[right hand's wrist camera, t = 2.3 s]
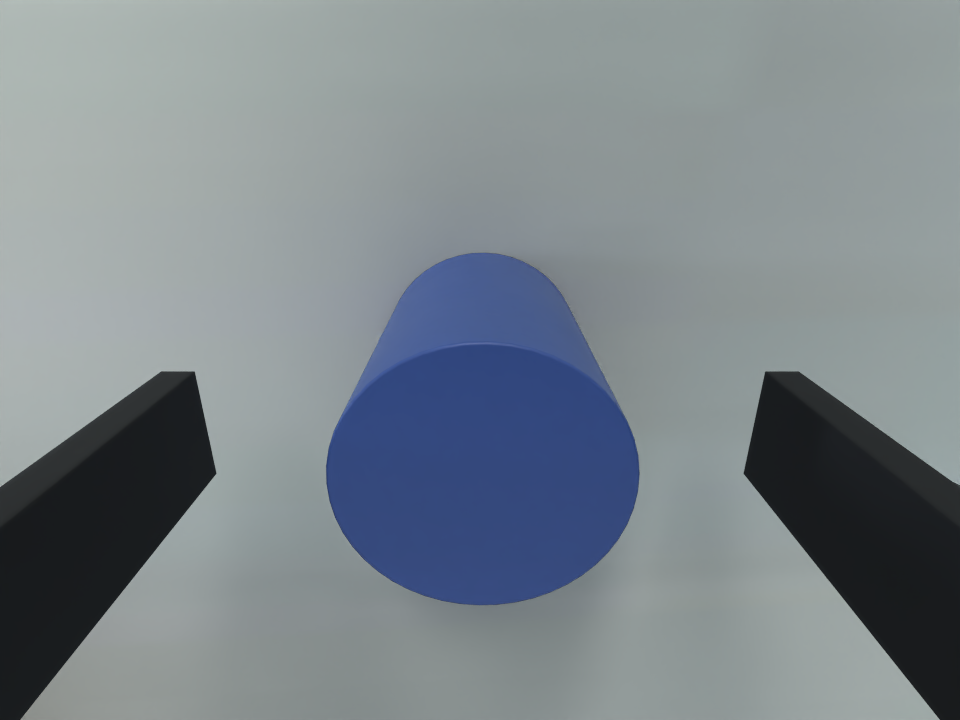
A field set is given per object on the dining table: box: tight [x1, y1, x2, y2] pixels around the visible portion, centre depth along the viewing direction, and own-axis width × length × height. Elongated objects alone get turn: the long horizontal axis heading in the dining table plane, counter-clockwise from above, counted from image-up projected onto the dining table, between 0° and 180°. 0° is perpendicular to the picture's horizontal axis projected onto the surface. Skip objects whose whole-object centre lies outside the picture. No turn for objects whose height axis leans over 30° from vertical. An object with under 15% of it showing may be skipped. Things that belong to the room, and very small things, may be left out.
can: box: [326, 253, 639, 605], centre depth 13 cm, size 6×6×8 cm
